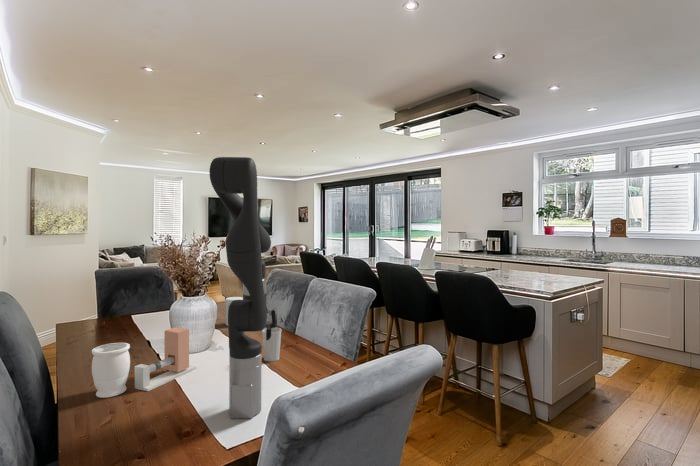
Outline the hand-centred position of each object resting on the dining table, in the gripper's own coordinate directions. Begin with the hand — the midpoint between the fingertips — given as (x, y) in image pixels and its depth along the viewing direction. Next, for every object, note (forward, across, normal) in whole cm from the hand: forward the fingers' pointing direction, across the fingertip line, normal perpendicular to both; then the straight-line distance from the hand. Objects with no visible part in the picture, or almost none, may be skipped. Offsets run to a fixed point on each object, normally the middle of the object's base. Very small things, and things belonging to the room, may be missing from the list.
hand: (255, 339), depth 123 cm
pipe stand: (+18, -34, +9) cm, 39 cm away
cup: (+19, 0, +28) cm, 34 cm away
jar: (+17, -47, -2) cm, 50 cm away
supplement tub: (+23, -30, +80) cm, 89 cm away
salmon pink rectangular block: (+17, -33, +14) cm, 39 cm away
